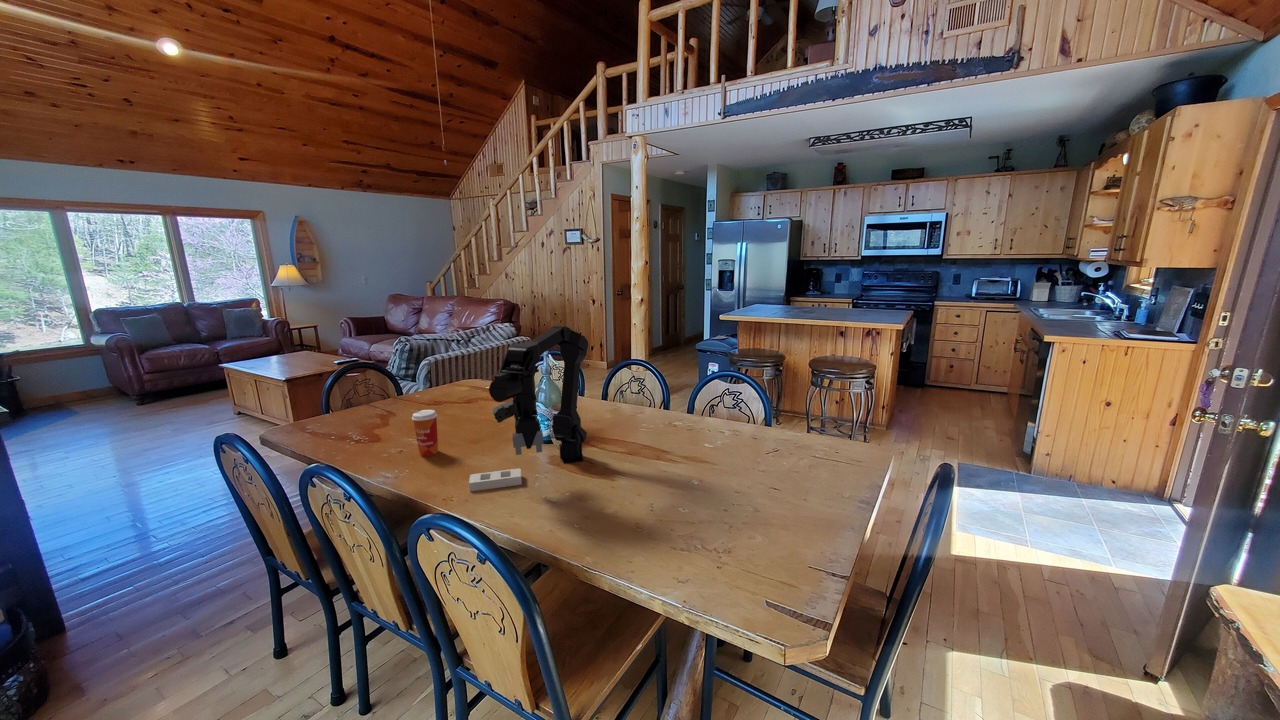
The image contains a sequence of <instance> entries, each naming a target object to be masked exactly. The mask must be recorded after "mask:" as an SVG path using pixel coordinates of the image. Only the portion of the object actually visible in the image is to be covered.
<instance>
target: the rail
mask: <svg viewBox="0 0 1280 720" xmlns="http://www.w3.org/2000/svg"><path fill="white" fill-rule="evenodd" d="M521 471H522V470H521V468H510V469H504V470H502V469H501V470H495V471H489V472H480V473H479V472H478V473H473V474H470V475H469V482H468V488H469V492H476V491H477V492H478V491H484V490H491V489H499V488H506V487H513V486H520V485H523V483H522V472H521Z"/></svg>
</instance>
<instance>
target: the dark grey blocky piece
mask: <svg viewBox="0 0 1280 720" xmlns="http://www.w3.org/2000/svg"><path fill="white" fill-rule="evenodd" d="M543 445H544V434H543V430H541V429H540V431H538V432H537V433H536V436H535V438H534V441H533V444H532V446H535V451H536V453H542V452H543V448H542V447H543ZM512 446H513V447H512V448H514V449H515V456H520V455H522V447H523V448H525V447H526V444H525V441H524V438H523V435H522V433H521V434H517V433H516V432H514V433H512Z"/></svg>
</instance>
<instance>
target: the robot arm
mask: <svg viewBox="0 0 1280 720" xmlns="http://www.w3.org/2000/svg"><path fill="white" fill-rule="evenodd" d="M555 346H557V347H559V354H560V357H561V359H562V362H563V375H562V387H561V397H560V398H561V399H560V409H559V411H558V412H557V413H556V414H553V416H552V425H551V428H552V433H553V436H554V439H555V441H559V442H560V443H559V444H558V447H559V448H558V451H559V458H560V460H561V463H563V464H567V463H574V462H575V463H576V462H583V461H584V457H583V443H585V442H586V440H587V436H588V432H587V431H586V430H585V429H584V428H583V427H582V419H581V416H580V414H579V412H578V411H577V408H578V407H577V406H578V395H579V384H580V372H581V371H580V370H581V364H582V363H583V362H584V360H585V359H586V357H587V353H588V348H589V341H588V339H587V338H586V336H585V335H582V334H581V333H579V332H577V331H574V330H572V329H571V328H570V327H568V326H565V325H554V326H551V328H549V329H548V330H547V331H545V332H543V333H542V334H540V335H538V336H536V337H535V338H533V339H532V340H530V341H526V342H520V343H516V344H512V345H510V346H509V347H508V348H507V351H506V353H505V356H504V359H503V362H502V365H501V366H500V370H499V373H500V374H499V373H498V374H495V375H494V376H493V377H494V378H493V380H492V381H491V382H490V384H489V387H488V393H489V396H490V397H491V398H492V400H493V401H494V402H497V403H500V404H499V405H497V406H495V407H493V409H492V413H493V415H494V419H495V420H496V422H497V423H502V422H503V421H505V420H507V419H509V418H512V417H514V428H515V433H517V434H521V433H522V435H523V438H524V441H525V444H526V446H525V447H526V449H527V450H531V448H532V444H533V441H534V438H535V436H536V433H537V432H538V431H541V422H540V418H538V409H537V395H536V394H537V392H536V384H535V383H536V381H535V374H537V373H539V372H540V369H539V368H537V367H536V365H537V364H538V363H539V362H540V360H541V357H542V355H543V354H545V353H546V352H548V351H549V350H551V349H552V348H554V347H555ZM511 399H512V400H511ZM507 400H509V401H507ZM505 401H506V402H505ZM502 402H504V403H502ZM501 403H502V404H501Z"/></svg>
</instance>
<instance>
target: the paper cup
mask: <svg viewBox="0 0 1280 720" xmlns="http://www.w3.org/2000/svg"><path fill="white" fill-rule="evenodd" d="M437 417H438V414H437V412H436V411H435V410H434V409H423V410H422V409H421V410H418V411H416V412H414V413H412V417H411V420H412V422H413V426H414V433H415V436H416V442H417V447H418V452H419V455H420V456H421V457H432V456H434V454H435V455H436V454H438V453H439V444H438V442H439V441H438V424H437ZM437 452H438V453H437Z"/></svg>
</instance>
